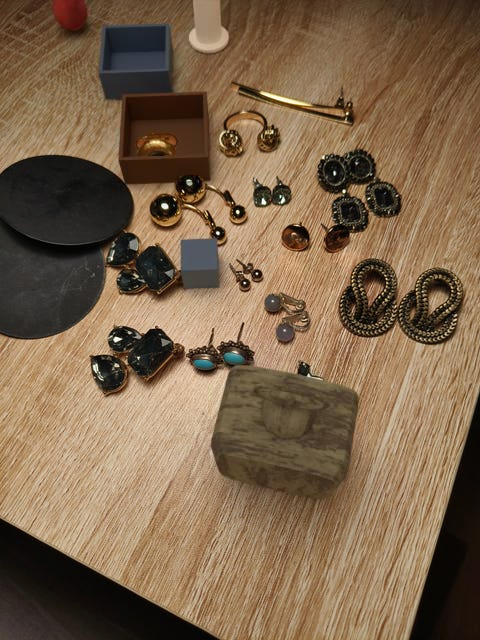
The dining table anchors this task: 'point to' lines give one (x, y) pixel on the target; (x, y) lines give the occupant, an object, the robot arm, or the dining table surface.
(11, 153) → the dining table surface
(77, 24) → the onion
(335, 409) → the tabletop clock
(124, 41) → the blue bin
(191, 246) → the blue block
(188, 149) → the brown bin
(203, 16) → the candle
